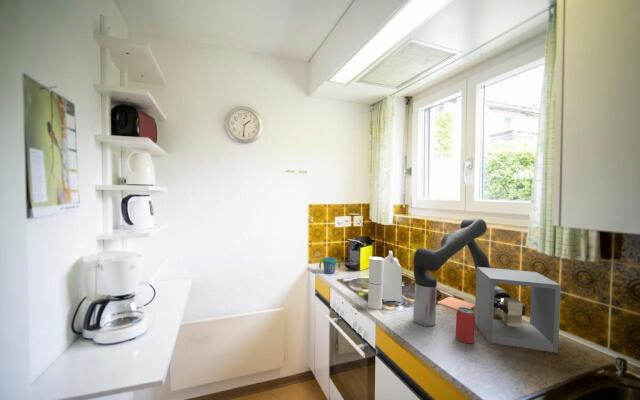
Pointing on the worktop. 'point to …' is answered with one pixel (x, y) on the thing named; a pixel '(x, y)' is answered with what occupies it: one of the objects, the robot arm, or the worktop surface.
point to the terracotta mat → (455, 303)
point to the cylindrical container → (375, 282)
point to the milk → (392, 278)
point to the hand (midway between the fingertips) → (515, 312)
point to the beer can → (465, 325)
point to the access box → (542, 310)
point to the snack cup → (329, 264)
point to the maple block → (513, 312)
